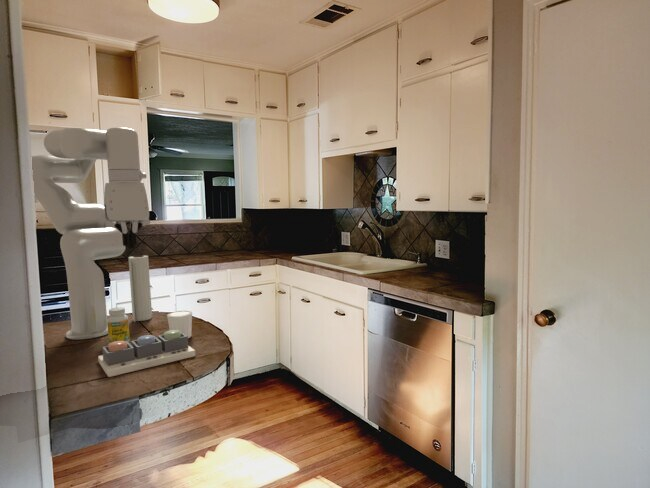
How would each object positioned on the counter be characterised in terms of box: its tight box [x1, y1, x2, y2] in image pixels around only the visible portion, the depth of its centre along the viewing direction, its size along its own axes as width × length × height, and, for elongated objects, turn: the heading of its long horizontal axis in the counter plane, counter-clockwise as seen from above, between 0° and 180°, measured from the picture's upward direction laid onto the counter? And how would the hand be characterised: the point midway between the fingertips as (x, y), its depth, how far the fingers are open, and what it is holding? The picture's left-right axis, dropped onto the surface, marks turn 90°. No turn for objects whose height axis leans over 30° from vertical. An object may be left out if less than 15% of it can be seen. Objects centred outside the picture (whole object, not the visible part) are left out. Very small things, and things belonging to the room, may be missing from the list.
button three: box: [163, 330, 181, 340], centre depth 111 cm, size 4×4×4 cm
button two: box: [136, 334, 156, 346], centre depth 107 cm, size 4×4×4 cm
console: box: [97, 332, 196, 378], centre depth 107 cm, size 12×20×4 cm, turn 127°
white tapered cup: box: [166, 310, 193, 339], centre depth 124 cm, size 7×7×7 cm
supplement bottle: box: [107, 306, 131, 344], centre depth 121 cm, size 5×5×10 cm
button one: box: [107, 341, 127, 352], centre depth 103 cm, size 4×4×4 cm
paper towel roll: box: [127, 255, 153, 323], centre depth 143 cm, size 7×6×21 cm
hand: (129, 248), depth 113 cm, fingers closed
